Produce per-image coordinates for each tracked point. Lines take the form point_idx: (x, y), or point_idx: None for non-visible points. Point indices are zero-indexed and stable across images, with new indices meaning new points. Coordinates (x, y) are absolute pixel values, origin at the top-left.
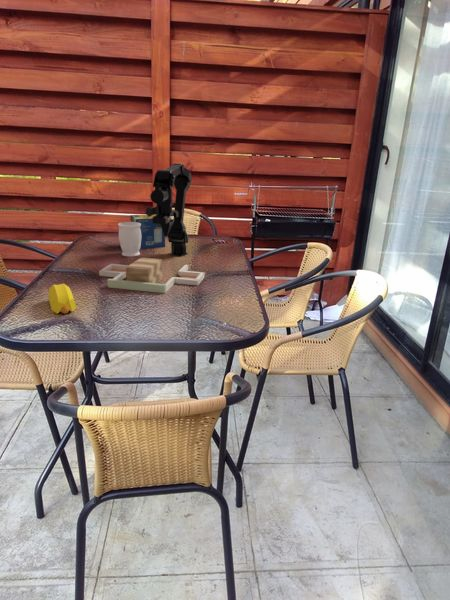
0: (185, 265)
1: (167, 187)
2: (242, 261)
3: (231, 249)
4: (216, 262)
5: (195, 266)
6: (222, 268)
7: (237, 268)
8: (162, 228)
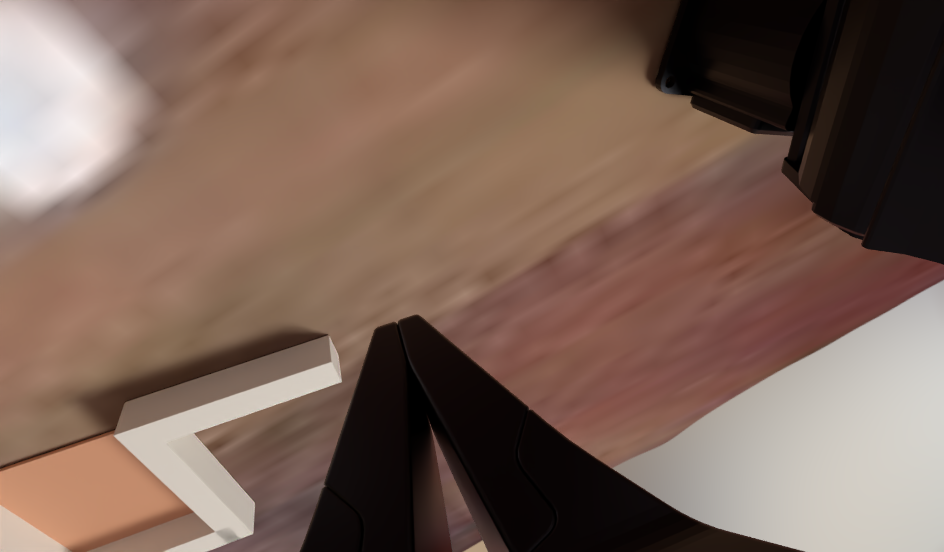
0: (310, 376)
1: None
2: (644, 443)
3: (876, 287)
4: (584, 378)
5: None
6: None
7: None
8: (315, 525)
